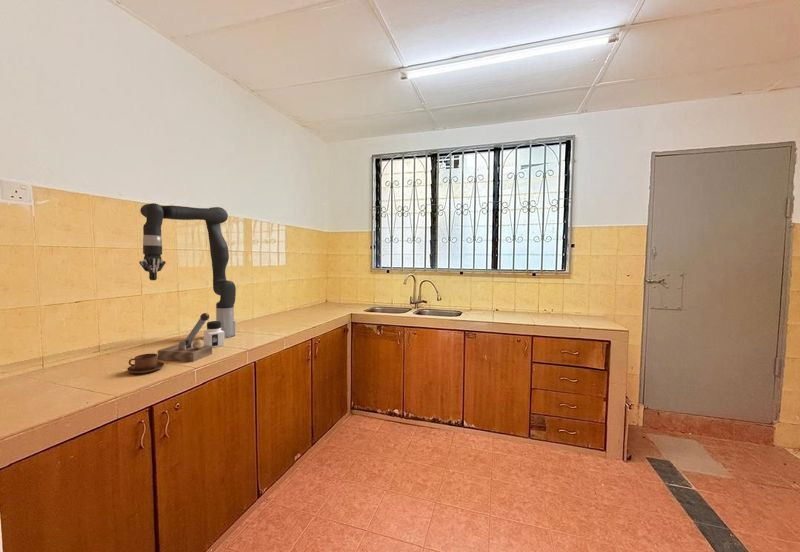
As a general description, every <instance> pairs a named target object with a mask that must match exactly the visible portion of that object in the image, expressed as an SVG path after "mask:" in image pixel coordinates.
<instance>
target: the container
mask: <svg viewBox="0 0 800 552" xmlns="http://www.w3.org/2000/svg"><path fill="white" fill-rule="evenodd" d="M220 329H221V322H220V321H216V320H210V321H208V322H206V330H203V343H204V345H207V346H212V349H213V348H216V347H217V348H218V347H224V346H225V338H224V331H222V330H220Z"/></svg>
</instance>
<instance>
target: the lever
mask: <svg viewBox="0 0 800 552" xmlns="http://www.w3.org/2000/svg"><path fill="white" fill-rule="evenodd" d="M209 319H210V314H208V313H207V312H204V313H201V315H200V317H199V319H198V321H197V322H196V324H195V325H194V327H193V328H192V330H191V331H190V332H189V334H188V335H187V337H186V338H185V339H186V340H185V339H184V341H186V348H187V347H189V346H190V343H191V342H192V340H193V341H194V339H195V337H196V335H197V334H198V333H199V332H200V330H201V329H202V328H203V326H204V325H205V323H207V322H206V321H208V320H209Z"/></svg>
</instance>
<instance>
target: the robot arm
mask: <svg viewBox="0 0 800 552" xmlns="http://www.w3.org/2000/svg"><path fill="white" fill-rule="evenodd" d="M139 212H140V214H141V215H142V216H143V217H144V218H146V222H145V223H144V224H143V228H142V231H143V235H142V254H143V256H144V257H143V260H139V265H140V266H141V267H142V269H143V270H144V271H145V272H147V273H149V274H148V277H149V280H150V281H157V279H158V273H159V272H161V271H162V269H163V268H164V266H165V264H166V263H167V261H165V260H164V261H163V259H162V255H163V238H162V225H163V222H164V221H163V220H164V219H165V220H166V219H167V220H174V221H175V220H179V221H196V220H197V221H198V220H199V221H201V220H202V221H205V224H206V228H207V235H208V244H209V253H210V258H211V259H210V260H211V267H212V269H211V270H212V289H213V292H214V293H215V295H217V296H220V297H219V301H217V302H216V304H215V316H216V317H215V319H216V320H215V321H220V322H221V329H220V330H222V331H224V339H225V338H232V337H234V336H236V319H235V311H234V310H235V306H234V305H235V302H236V295H237V288H236V285H235V283H234V282H233V281H231V280H228V279H227V277H226V269H227V266H228V264H229V259H230V255H229V254H230V253H229V247H228V243H227V241H226V239H225V237H224V235H223V233H222V230H221V224H223V223H225V222H226V221H228V217H229V215H228V212H227V210H225V209H224V208H222V207H220V206H215V207H214V206H213V207H208V208H207V207H206V208H205V207H204V208H203V207H193V206H192V207H190V206H183V205H172V204H171V205H170V204H169V205H161V204H158V203H156V202H152V203H151V202H150V203H146V204H143V205H142V206H141V207H140V211H139Z"/></svg>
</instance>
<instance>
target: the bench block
mask: <svg viewBox="0 0 800 552" xmlns="http://www.w3.org/2000/svg"><path fill="white" fill-rule="evenodd" d="M185 340H186V338H185V339H184V340H178V343H176V344H174V345H170V346H167V347H165V348H161V349H158V350H157V360H166V361H167V360H168V361H177V362H178V361H180V362H192V363H193V362H196V361H199V360H201V359H203V358H206V357H208V356H210V355H211V356H212V354H213V348H212V346H207V345H204V340H202V339H200V338H199V339H195V340H194V339H193V340H192V342H191V343H190V346H189V347H187V348H186V341H185Z"/></svg>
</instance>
